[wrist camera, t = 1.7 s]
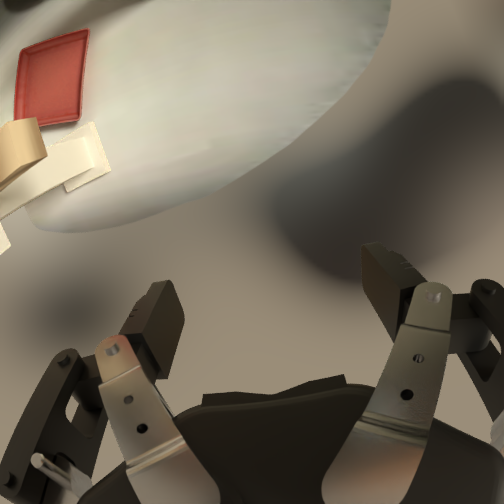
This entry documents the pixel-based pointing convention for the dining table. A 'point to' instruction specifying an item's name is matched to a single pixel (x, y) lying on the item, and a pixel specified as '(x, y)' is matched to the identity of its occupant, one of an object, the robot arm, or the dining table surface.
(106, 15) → the dining table surface
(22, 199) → the tall stand
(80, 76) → the plant saucer
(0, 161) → the beech mallet
